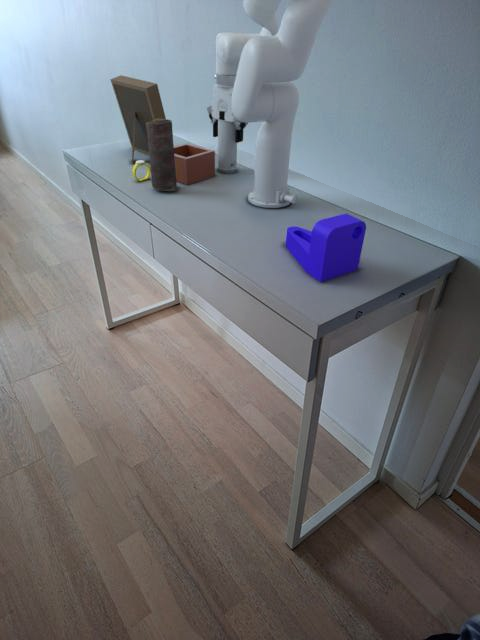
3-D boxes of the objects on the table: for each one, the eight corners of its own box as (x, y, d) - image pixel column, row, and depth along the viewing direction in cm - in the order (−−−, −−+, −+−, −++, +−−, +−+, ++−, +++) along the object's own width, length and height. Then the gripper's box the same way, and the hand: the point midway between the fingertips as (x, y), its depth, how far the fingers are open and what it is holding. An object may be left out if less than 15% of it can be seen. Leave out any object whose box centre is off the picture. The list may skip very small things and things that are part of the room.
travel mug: (237, 174, 152) (238, 109, 140) (217, 173, 152) (217, 108, 140) (237, 168, 157) (239, 105, 145) (218, 167, 157) (218, 104, 145)
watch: (147, 177, 147) (146, 158, 143) (152, 179, 145) (151, 160, 142) (132, 181, 143) (129, 162, 140) (137, 183, 142) (134, 164, 138)
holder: (215, 175, 150) (215, 150, 145) (187, 185, 142) (186, 159, 137) (187, 167, 157) (186, 143, 152) (159, 175, 148) (157, 150, 144)
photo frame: (141, 146, 175) (134, 74, 161) (175, 160, 163) (171, 82, 148) (107, 153, 167) (96, 77, 152) (140, 167, 154) (132, 86, 140)
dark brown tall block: (160, 195, 134) (154, 123, 122) (147, 188, 138) (140, 118, 127) (181, 190, 138) (178, 120, 126) (168, 183, 142) (164, 115, 131)
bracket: (357, 269, 101) (367, 219, 94) (320, 281, 96) (328, 230, 89) (305, 238, 113) (311, 192, 106) (270, 248, 108) (273, 200, 101)
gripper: (199, 78, 140) (200, 136, 150) (242, 85, 132) (240, 146, 141) (215, 76, 145) (216, 132, 155) (258, 82, 136) (255, 142, 146)
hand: (227, 139), depth 148 cm, fingers open, 9 cm apart
